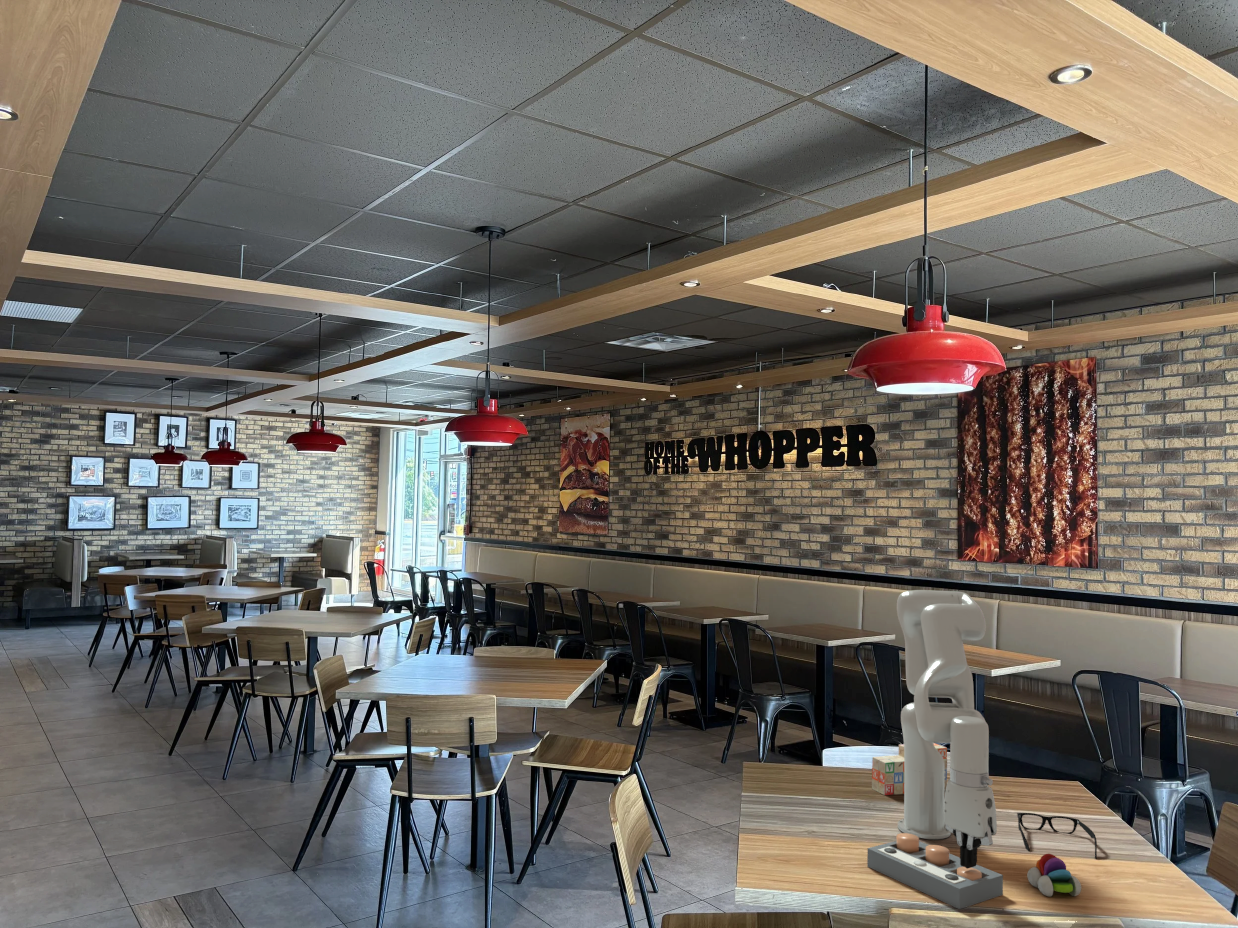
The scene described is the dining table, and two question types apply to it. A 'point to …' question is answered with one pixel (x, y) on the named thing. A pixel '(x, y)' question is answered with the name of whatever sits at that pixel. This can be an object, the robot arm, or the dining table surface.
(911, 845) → the button
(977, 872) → the button
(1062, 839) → the dining table surface
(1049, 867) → the rainbow wheeled toy
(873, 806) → the dining table surface
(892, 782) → the stack of blocks
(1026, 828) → the glasses
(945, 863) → the button
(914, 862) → the button board
